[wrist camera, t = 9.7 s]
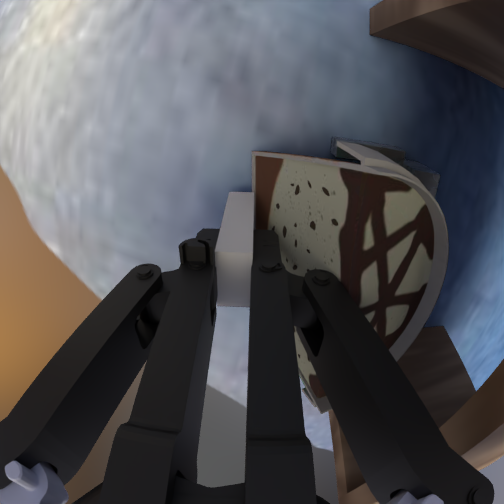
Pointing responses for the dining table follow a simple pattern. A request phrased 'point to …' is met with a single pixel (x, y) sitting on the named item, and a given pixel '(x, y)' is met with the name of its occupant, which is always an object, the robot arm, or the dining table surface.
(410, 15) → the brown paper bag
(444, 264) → the food container
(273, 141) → the dining table surface
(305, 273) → the robot arm
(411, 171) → the gray stone bench
